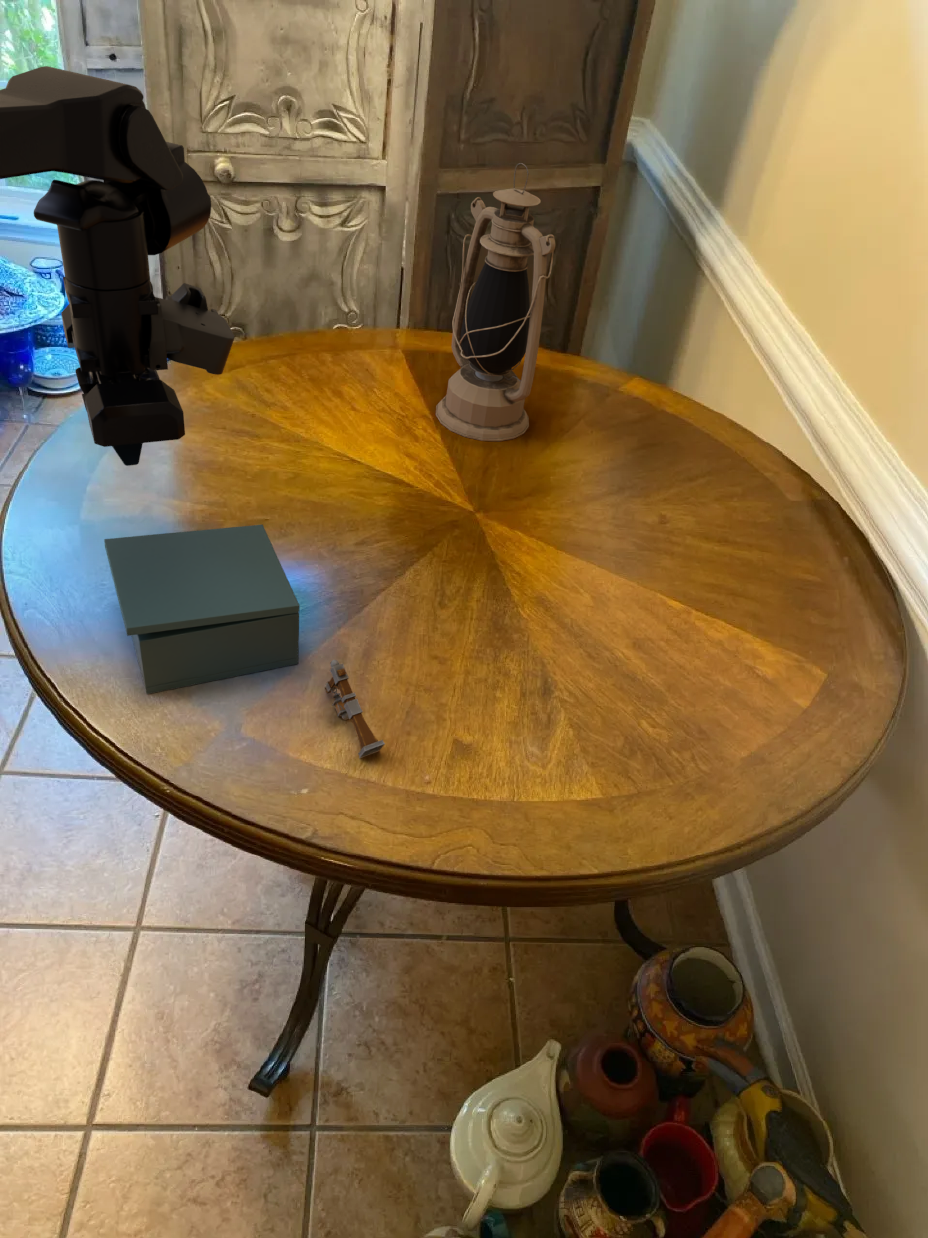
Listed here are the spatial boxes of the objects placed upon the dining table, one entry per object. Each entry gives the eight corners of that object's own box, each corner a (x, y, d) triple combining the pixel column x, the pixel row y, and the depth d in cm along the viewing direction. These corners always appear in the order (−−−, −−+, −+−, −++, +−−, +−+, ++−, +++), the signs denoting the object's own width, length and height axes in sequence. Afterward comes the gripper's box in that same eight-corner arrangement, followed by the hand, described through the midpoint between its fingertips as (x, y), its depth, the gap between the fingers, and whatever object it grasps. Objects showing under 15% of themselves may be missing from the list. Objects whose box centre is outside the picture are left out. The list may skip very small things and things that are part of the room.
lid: (127, 636, 69) (126, 628, 69) (104, 546, 77) (104, 538, 76) (299, 612, 75) (299, 605, 74) (262, 531, 82) (262, 524, 82)
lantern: (410, 400, 117) (436, 145, 97) (481, 382, 123) (518, 140, 104) (482, 454, 109) (526, 189, 90) (554, 432, 116) (609, 180, 96)
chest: (146, 694, 74) (139, 641, 70) (123, 604, 81) (115, 552, 78) (298, 664, 79) (299, 613, 75) (263, 581, 86) (262, 531, 83)
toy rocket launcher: (333, 674, 77) (345, 652, 73) (371, 760, 75) (386, 742, 71) (314, 681, 76) (325, 659, 72) (351, 768, 74) (365, 750, 70)
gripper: (253, 324, 62) (257, 513, 72) (195, 226, 74) (205, 400, 85) (78, 334, 58) (108, 533, 68) (47, 228, 70) (76, 411, 80)
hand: (131, 463), depth 75 cm, fingers closed
